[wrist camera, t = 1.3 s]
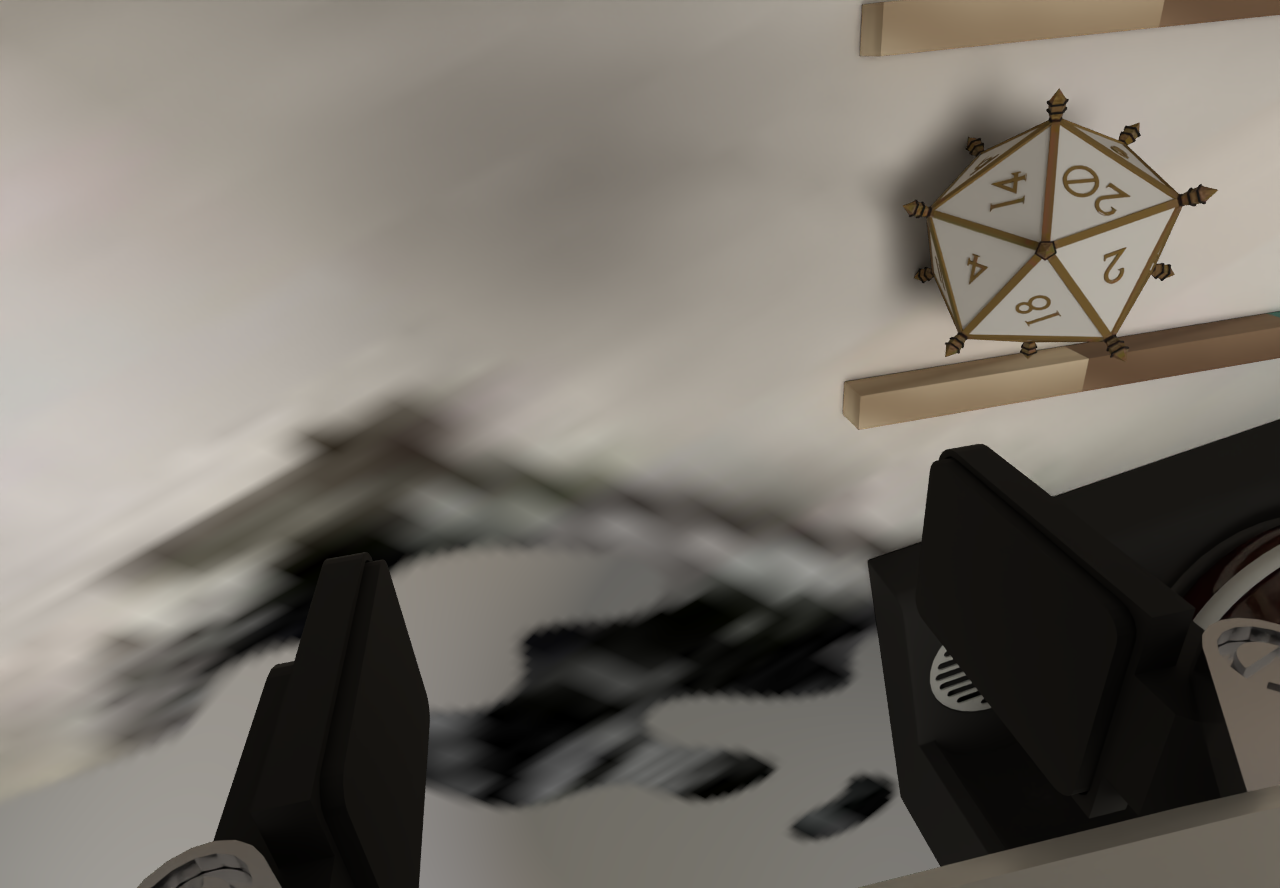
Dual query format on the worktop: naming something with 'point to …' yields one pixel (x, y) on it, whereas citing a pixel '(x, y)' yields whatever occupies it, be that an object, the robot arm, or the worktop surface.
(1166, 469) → the coffee maker
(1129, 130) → the game die
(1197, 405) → the worktop surface
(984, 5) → the pair of wooden rods
